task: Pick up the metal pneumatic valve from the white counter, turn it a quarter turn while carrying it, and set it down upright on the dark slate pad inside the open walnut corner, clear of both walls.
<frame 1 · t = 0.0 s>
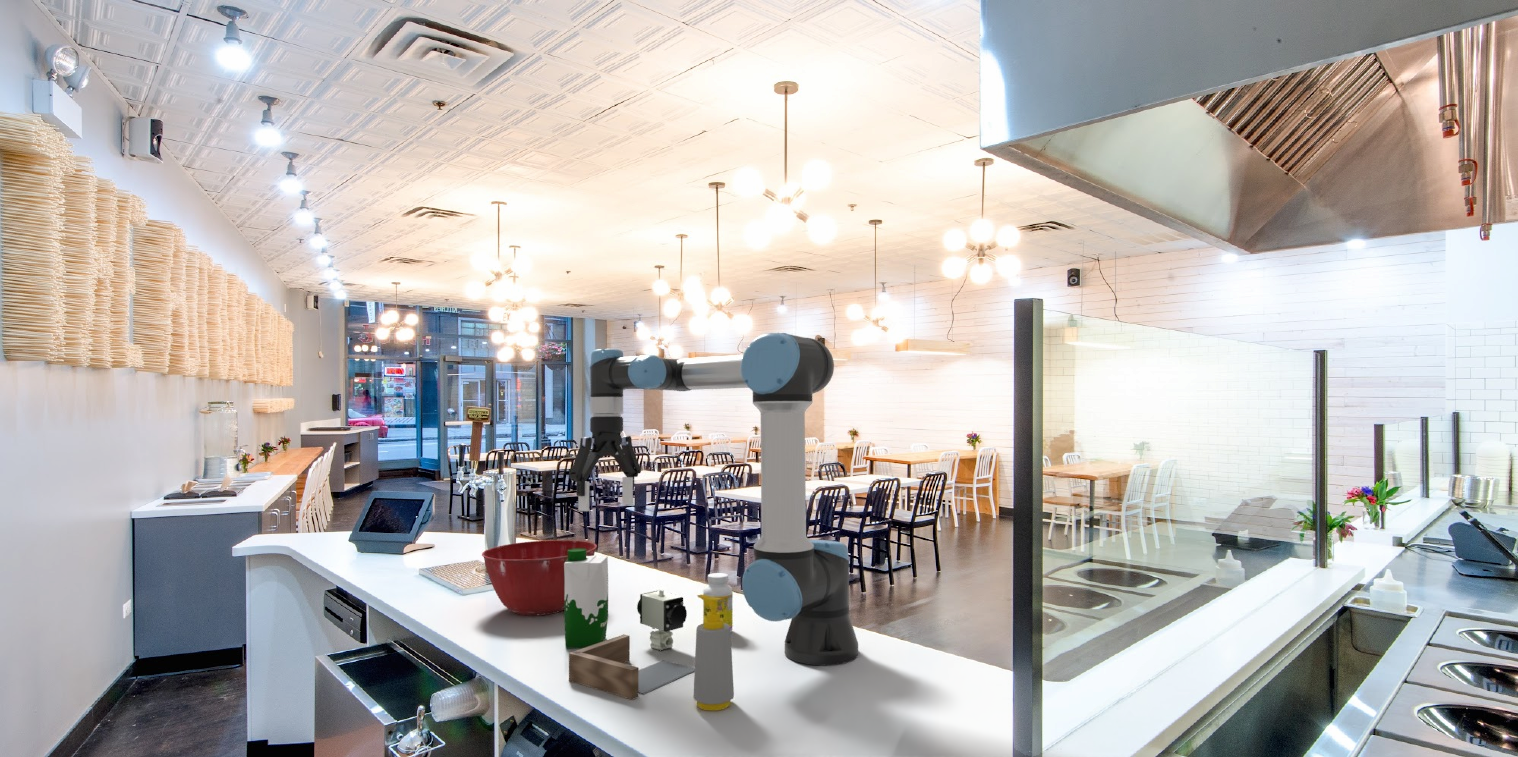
hand: (606, 507, 167), 28 cm above the table, tool pointing down, fingers open, 13 cm apart
walnut corner: (640, 675, 137), on the table
pneumatic valve: (663, 648, 153), on the table
supplement bottle: (718, 633, 164), on the table
milk carton: (586, 643, 157), on the table
slate pad: (653, 676, 136), on the table
soap bottle: (713, 705, 123), on the table
mixing bowl: (540, 609, 186), on the table
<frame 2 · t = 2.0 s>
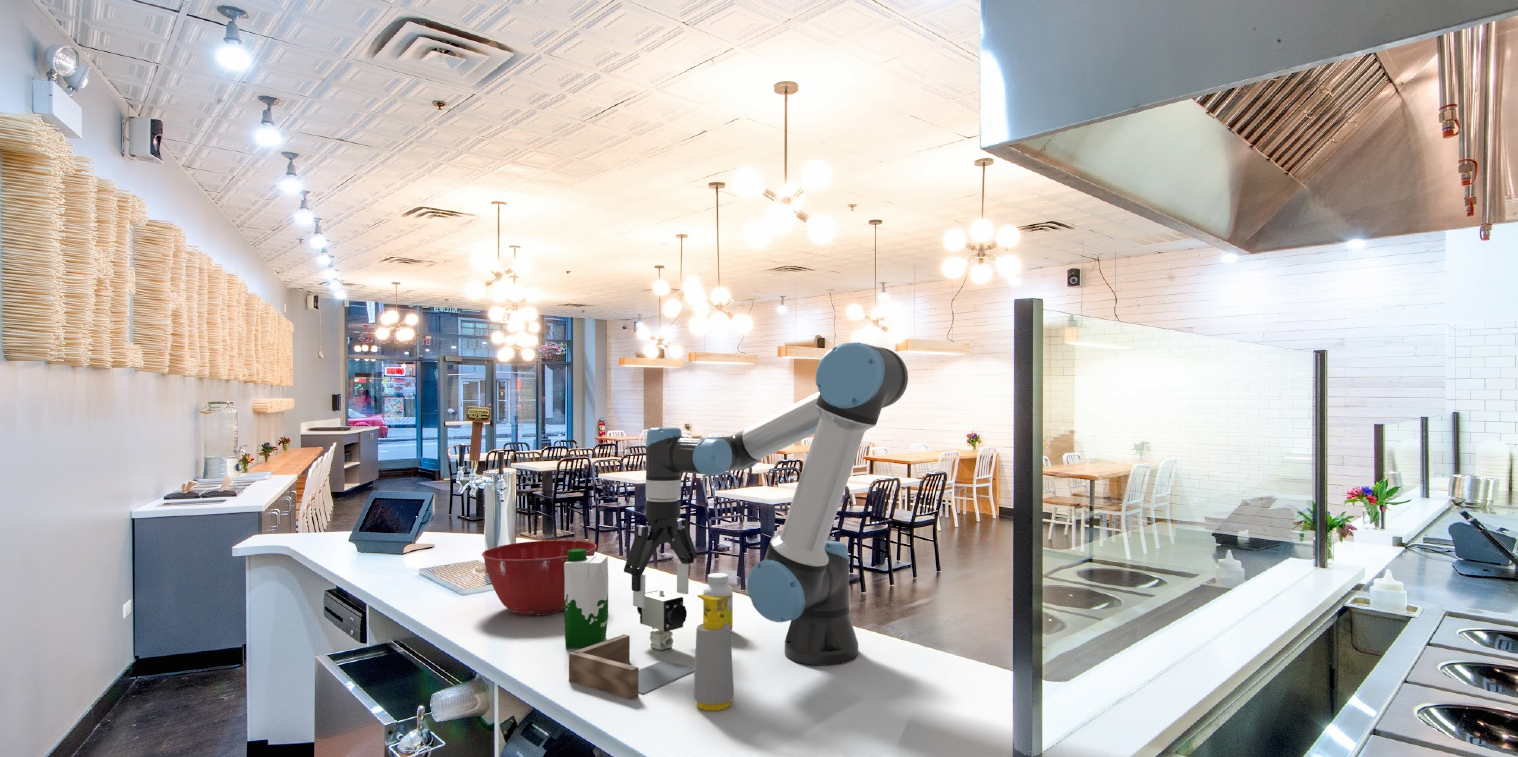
hand: (661, 599, 154), 10 cm above the table, tool pointing down, fingers open, 13 cm apart
nothing on the table moved.
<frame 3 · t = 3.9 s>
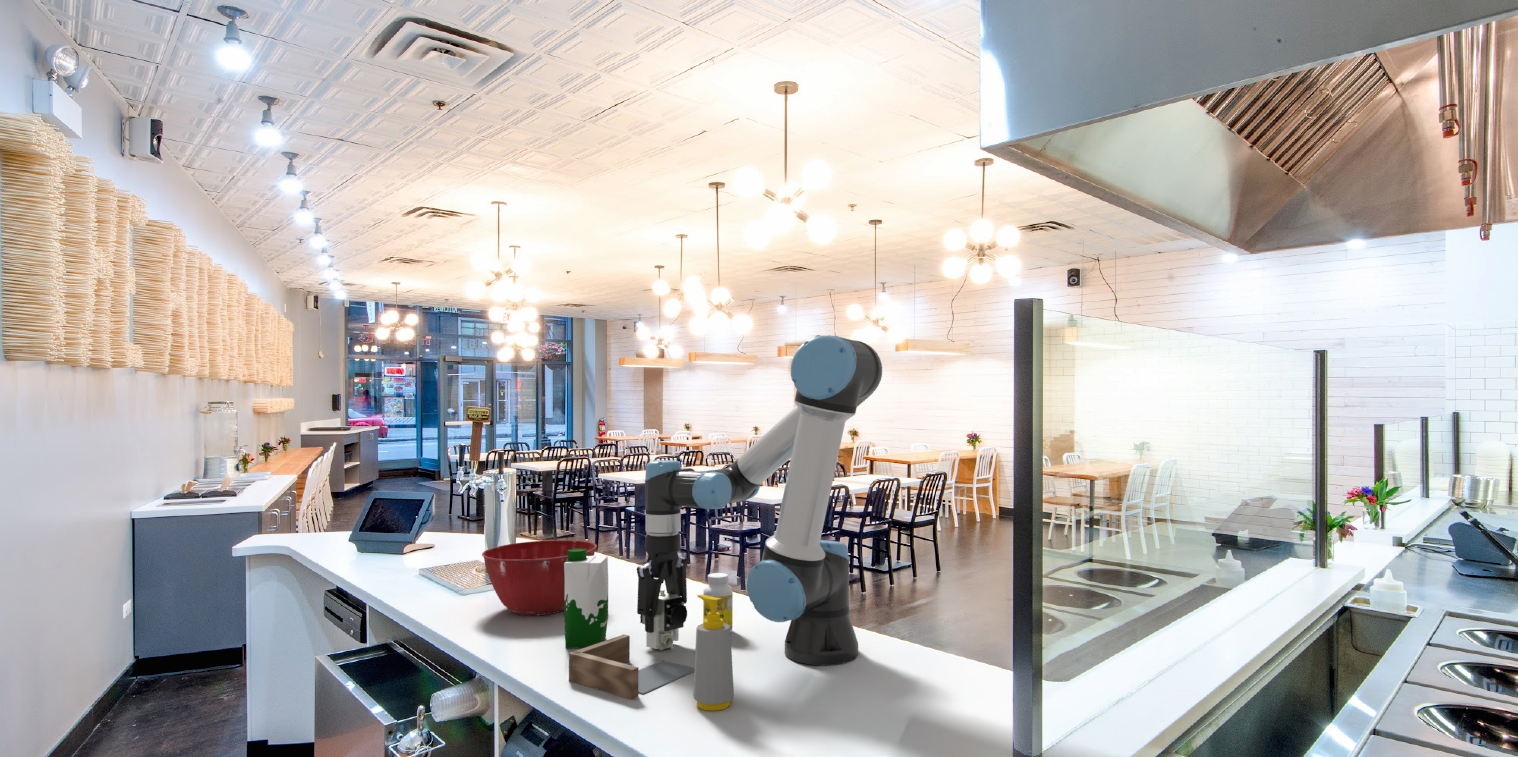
hand: (662, 643, 153), 1 cm above the table, tool pointing down, fingers closed on pneumatic valve, 6 cm apart
pneumatic valve: (663, 648, 153), on the table, touching gripper
everything else where it was.
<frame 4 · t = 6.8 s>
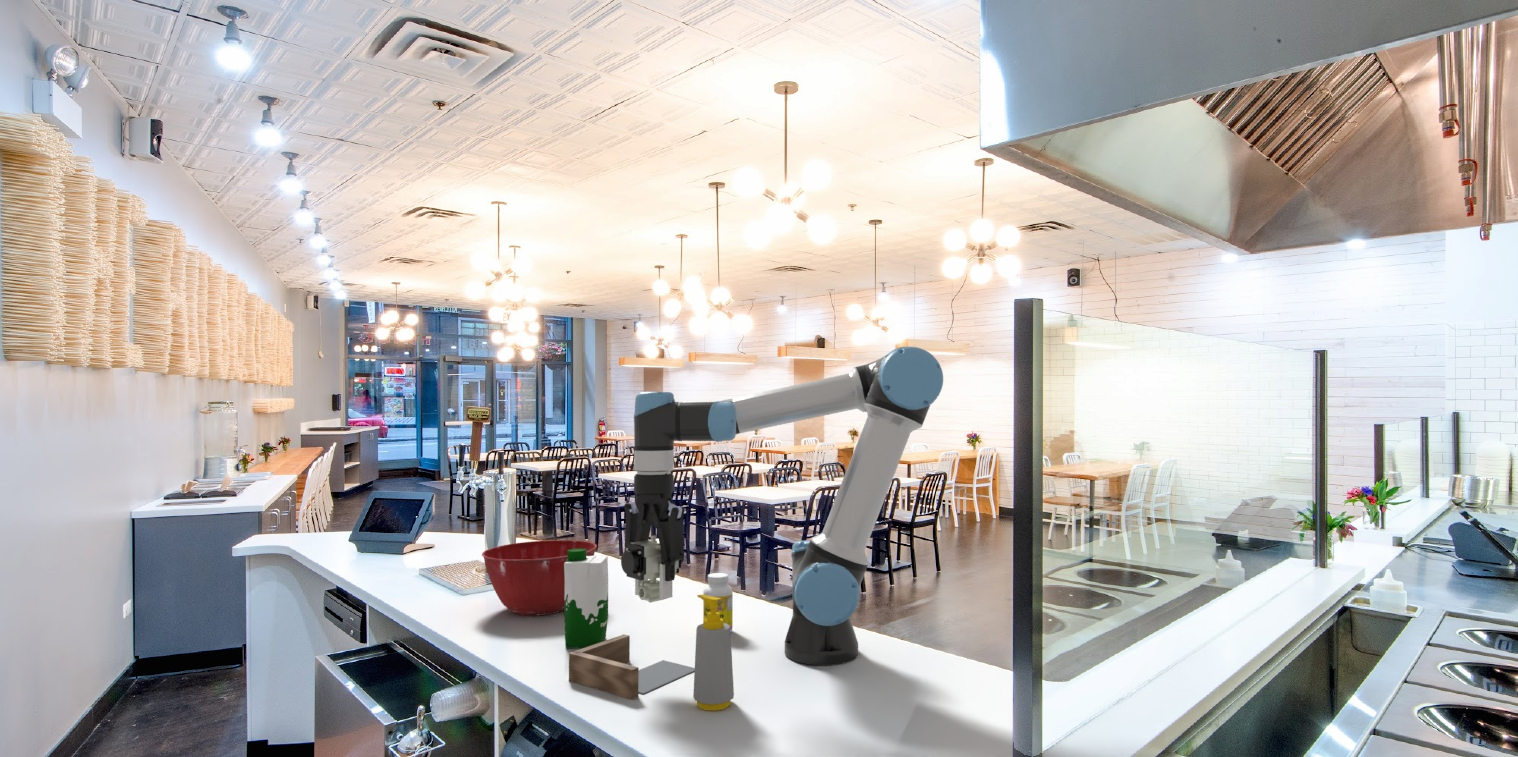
hand: (653, 595, 137), 15 cm above the table, tool pointing down, fingers closed on pneumatic valve, 6 cm apart
pneumatic valve: (654, 601, 137), point 14 cm above the table, touching gripper
everything else where it was.
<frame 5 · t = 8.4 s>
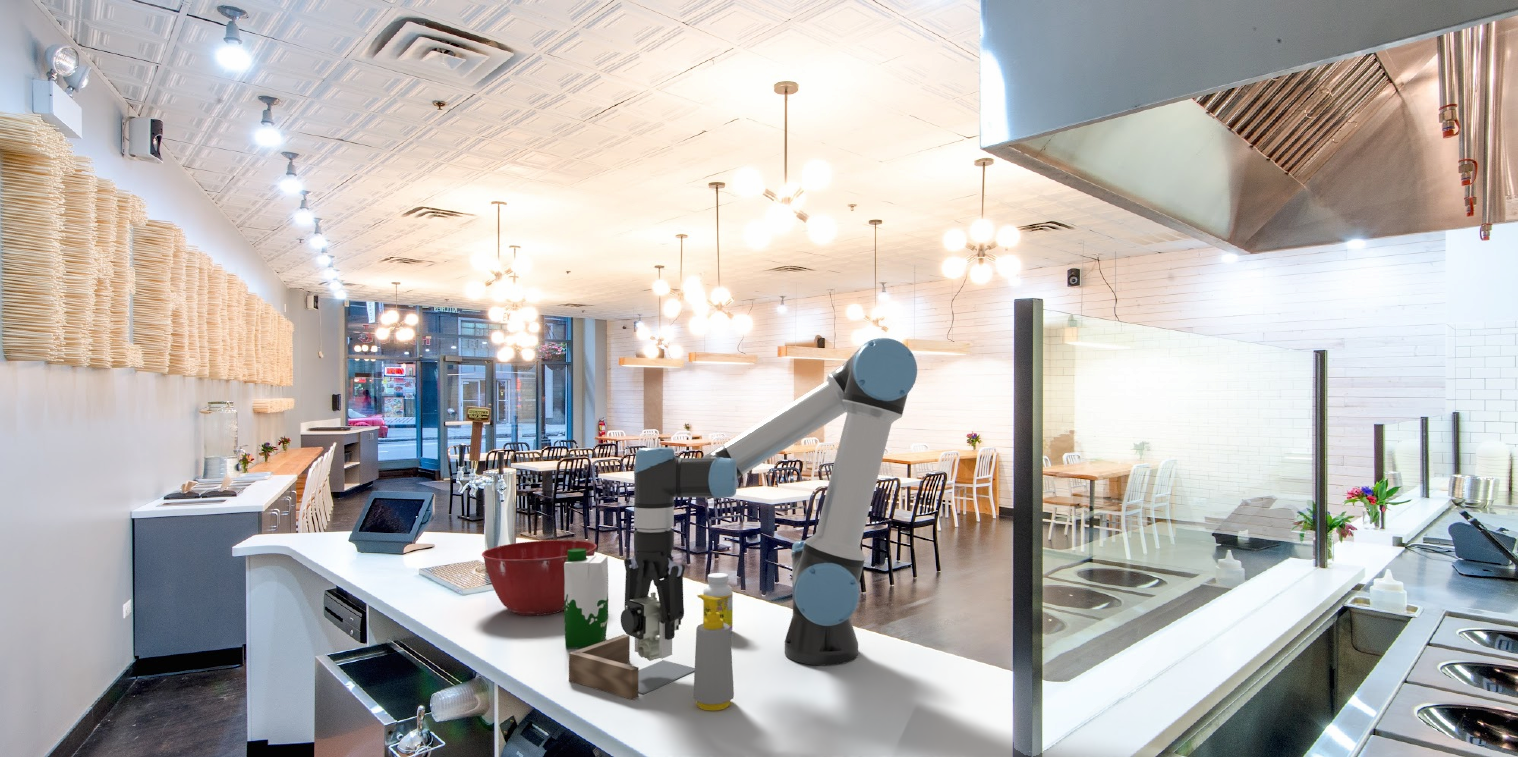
hand: (653, 652, 136), 4 cm above the table, tool pointing down, fingers closed on pneumatic valve, 6 cm apart
pneumatic valve: (653, 658, 136), point 3 cm above the table, touching gripper
everything else where it was.
when the fingers open (2 cm above the table, at t = 9.6 s): pneumatic valve drops 1 cm, resting on slate pad.
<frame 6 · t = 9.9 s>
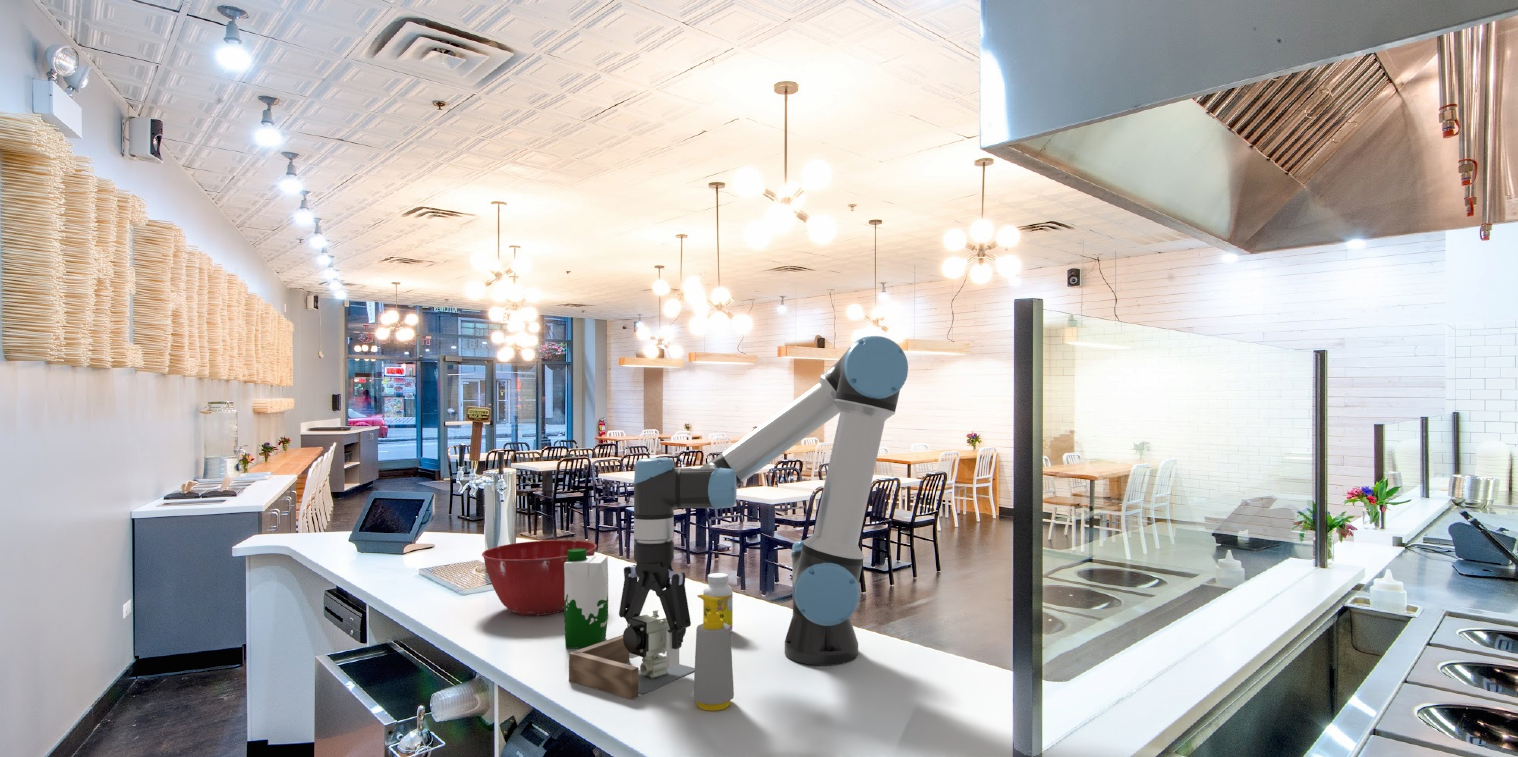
hand: (653, 660, 136), 3 cm above the table, tool pointing down, fingers open, 9 cm apart
pneumatic valve: (656, 676, 136), resting on slate pad
everything else where it was.
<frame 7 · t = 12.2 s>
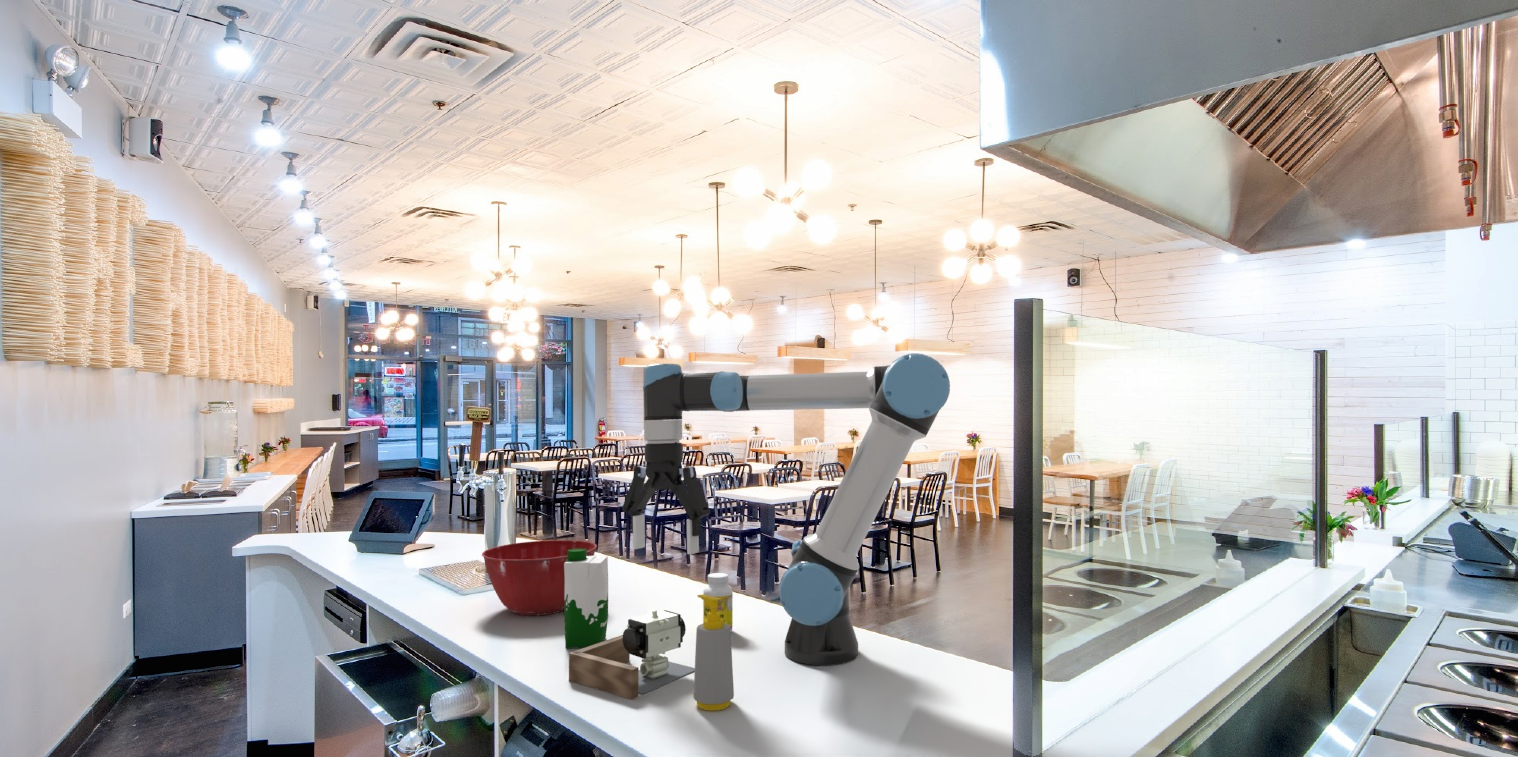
hand: (665, 550, 142), 23 cm above the table, tool pointing down, fingers open, 13 cm apart
nothing on the table moved.
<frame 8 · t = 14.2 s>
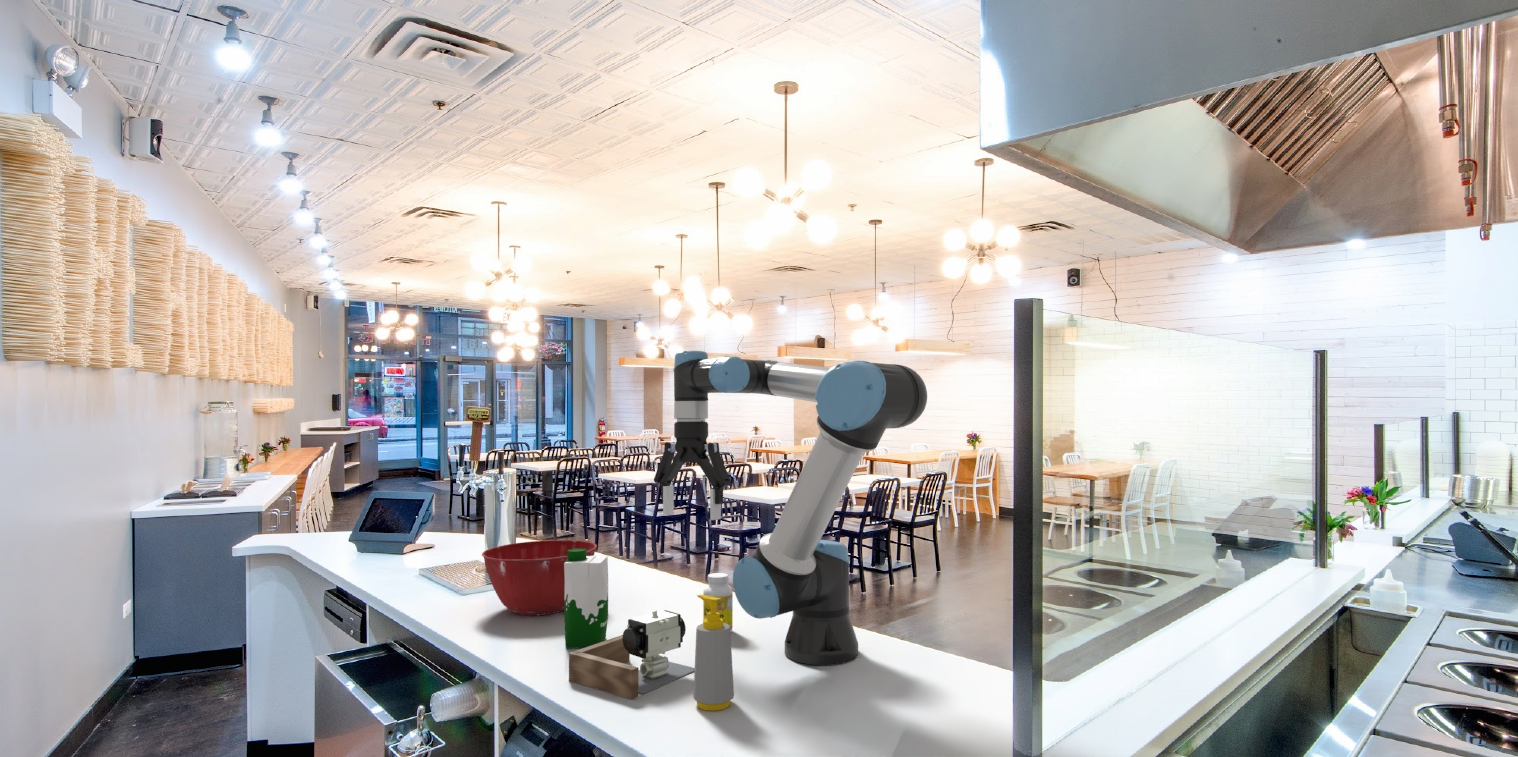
hand: (691, 517, 160), 27 cm above the table, tool pointing down, fingers open, 13 cm apart
nothing on the table moved.
at the end: pneumatic valve inside the target area (0.5 cm from its centre), resting on slate pad; pneumatic valve tilted 0°; pneumatic valve touching slate pad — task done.
